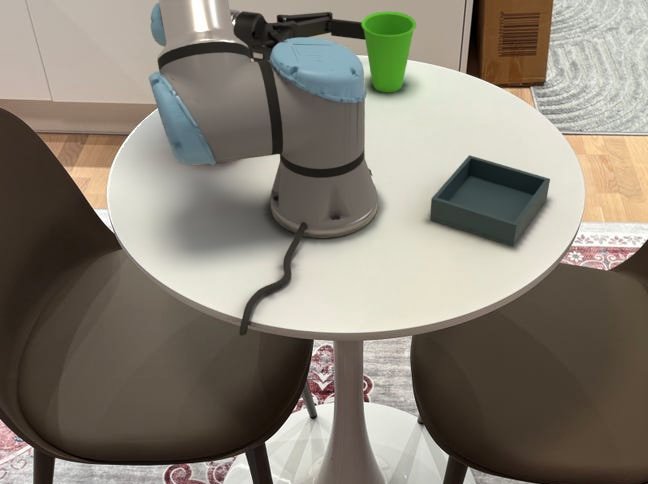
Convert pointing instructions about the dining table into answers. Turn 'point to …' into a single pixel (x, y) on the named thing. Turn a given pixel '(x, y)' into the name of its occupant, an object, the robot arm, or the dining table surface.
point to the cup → (388, 48)
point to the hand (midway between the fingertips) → (357, 48)
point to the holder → (489, 200)
